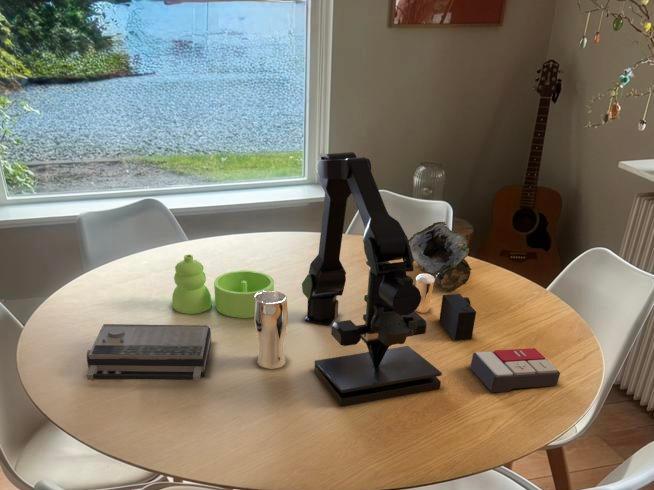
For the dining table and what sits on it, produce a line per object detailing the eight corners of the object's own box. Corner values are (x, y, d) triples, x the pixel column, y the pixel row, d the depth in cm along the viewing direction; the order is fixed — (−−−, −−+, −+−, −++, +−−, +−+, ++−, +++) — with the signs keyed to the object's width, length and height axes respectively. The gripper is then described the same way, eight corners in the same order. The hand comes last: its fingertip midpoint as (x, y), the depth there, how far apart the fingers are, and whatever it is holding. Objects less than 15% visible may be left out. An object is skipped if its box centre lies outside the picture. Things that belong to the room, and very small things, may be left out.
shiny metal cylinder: (433, 315, 178) (438, 276, 172) (411, 312, 179) (416, 274, 173) (434, 307, 182) (439, 269, 176) (413, 305, 183) (417, 267, 177)
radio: (210, 320, 161) (200, 364, 145) (211, 342, 164) (202, 387, 148) (99, 319, 161) (78, 362, 145) (103, 341, 164) (82, 385, 148)
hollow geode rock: (453, 316, 189) (499, 276, 183) (422, 285, 182) (470, 242, 177) (426, 272, 211) (467, 235, 205) (398, 243, 204) (439, 204, 199)
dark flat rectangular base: (439, 389, 149) (441, 380, 148) (341, 406, 143) (341, 398, 142) (407, 356, 161) (407, 348, 160) (314, 371, 154) (314, 363, 153)
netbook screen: (441, 376, 148) (442, 372, 147) (341, 393, 141) (341, 390, 141) (407, 348, 160) (408, 345, 159) (314, 364, 153) (314, 360, 153)
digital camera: (476, 339, 168) (481, 311, 164) (454, 340, 167) (459, 312, 163) (460, 319, 176) (464, 292, 172) (439, 321, 175) (442, 294, 171)
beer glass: (263, 372, 154) (262, 306, 145) (250, 358, 159) (248, 293, 150) (292, 365, 156) (293, 300, 147) (278, 352, 161) (278, 288, 152)
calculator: (562, 370, 149) (496, 374, 146) (556, 388, 152) (491, 392, 148) (536, 345, 158) (473, 349, 154) (531, 363, 160) (469, 367, 157)
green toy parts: (273, 293, 187) (273, 245, 180) (274, 317, 176) (274, 267, 168) (175, 293, 186) (171, 245, 178) (170, 318, 174) (165, 267, 167)
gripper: (354, 317, 133) (349, 391, 142) (444, 304, 138) (434, 376, 147) (331, 294, 141) (328, 365, 150) (417, 283, 146) (409, 352, 155)
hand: (376, 365), depth 150 cm, fingers closed, pressing on netbook screen
